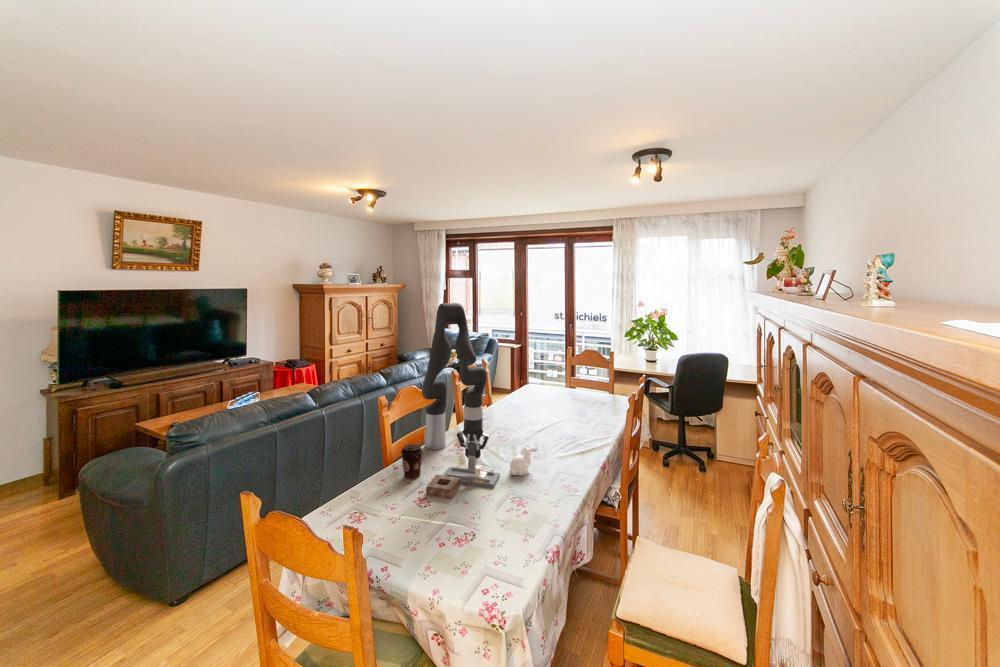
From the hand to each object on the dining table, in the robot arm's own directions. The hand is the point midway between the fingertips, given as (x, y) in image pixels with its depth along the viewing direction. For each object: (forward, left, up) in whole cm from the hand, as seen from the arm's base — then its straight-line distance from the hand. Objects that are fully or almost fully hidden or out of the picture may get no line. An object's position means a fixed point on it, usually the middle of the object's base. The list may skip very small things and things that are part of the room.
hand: (472, 457), depth 174 cm
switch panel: (-1, 0, -10) cm, 10 cm away
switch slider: (+4, 0, -8) cm, 8 cm away
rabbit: (+18, +13, -10) cm, 24 cm away
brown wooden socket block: (-8, -12, -10) cm, 17 cm away
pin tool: (0, 0, -6) cm, 6 cm away
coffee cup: (-25, -4, -10) cm, 27 cm away
